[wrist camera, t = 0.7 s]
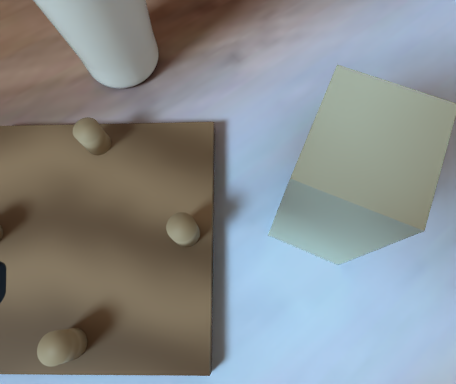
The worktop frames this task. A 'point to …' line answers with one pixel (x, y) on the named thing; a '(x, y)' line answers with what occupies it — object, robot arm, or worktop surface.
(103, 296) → the peg stand
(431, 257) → the worktop surface
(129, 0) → the drinking glass
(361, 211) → the sage block
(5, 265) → the robot arm
